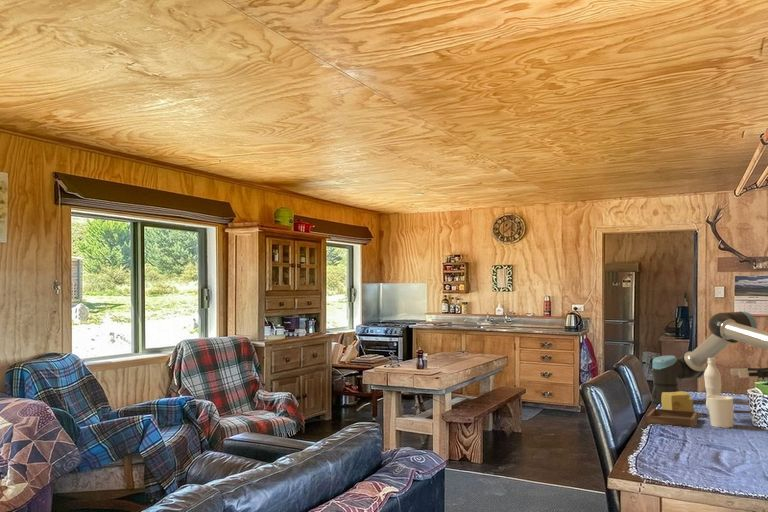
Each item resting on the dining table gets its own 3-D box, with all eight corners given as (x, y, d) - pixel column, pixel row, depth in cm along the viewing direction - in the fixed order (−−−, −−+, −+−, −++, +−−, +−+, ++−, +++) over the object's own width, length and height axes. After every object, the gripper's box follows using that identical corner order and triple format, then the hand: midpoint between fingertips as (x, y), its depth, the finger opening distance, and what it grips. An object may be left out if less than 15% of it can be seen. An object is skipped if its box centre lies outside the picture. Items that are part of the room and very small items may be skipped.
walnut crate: (653, 416, 273) (653, 408, 273) (698, 419, 263) (697, 411, 263) (646, 424, 257) (646, 416, 258) (693, 428, 247) (693, 419, 248)
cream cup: (739, 428, 244) (737, 399, 245) (713, 428, 246) (711, 399, 247) (730, 423, 254) (728, 395, 254) (705, 423, 255) (703, 395, 256)
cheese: (695, 416, 270) (693, 394, 270) (671, 417, 270) (670, 395, 271) (684, 412, 280) (682, 391, 281) (661, 412, 280) (660, 391, 281)
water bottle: (702, 410, 283) (699, 358, 284) (712, 408, 286) (709, 356, 287) (716, 412, 276) (713, 359, 278) (726, 411, 279) (723, 358, 281)
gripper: (805, 383, 231) (744, 385, 238) (783, 378, 255) (728, 379, 261) (802, 364, 232) (741, 366, 239) (781, 361, 256) (726, 362, 262)
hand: (734, 373), depth 250 cm, fingers open, 13 cm apart
